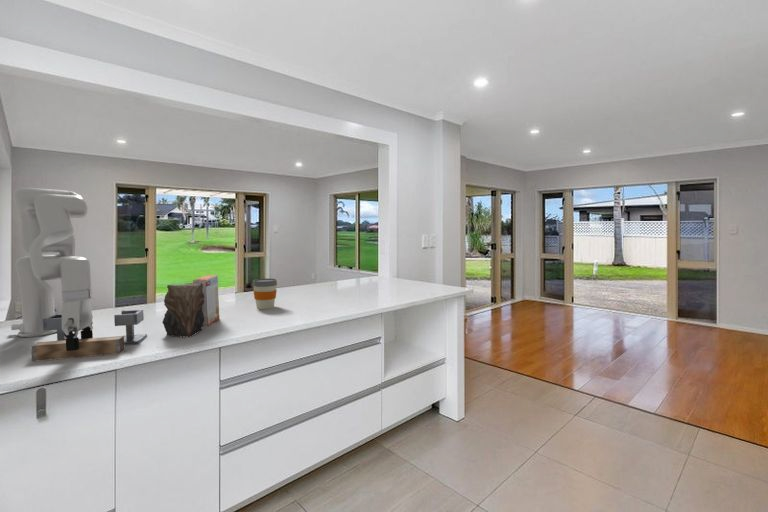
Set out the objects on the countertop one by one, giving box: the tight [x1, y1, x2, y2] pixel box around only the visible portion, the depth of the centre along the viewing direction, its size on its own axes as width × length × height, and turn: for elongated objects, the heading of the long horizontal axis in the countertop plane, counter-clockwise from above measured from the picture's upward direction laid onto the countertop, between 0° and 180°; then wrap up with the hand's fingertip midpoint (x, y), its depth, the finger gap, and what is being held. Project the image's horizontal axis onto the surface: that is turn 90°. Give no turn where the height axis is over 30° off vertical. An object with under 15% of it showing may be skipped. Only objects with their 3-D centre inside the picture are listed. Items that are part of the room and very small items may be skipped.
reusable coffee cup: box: [252, 278, 278, 310], centre depth 197 cm, size 13×13×15 cm
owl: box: [162, 282, 204, 338], centre depth 149 cm, size 13×13×20 cm
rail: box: [30, 335, 125, 362], centre depth 121 cm, size 24×4×5 cm, turn 108°
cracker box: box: [192, 274, 220, 327], centre depth 164 cm, size 14×6×21 cm, turn 5°
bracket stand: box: [43, 309, 148, 346], centre depth 134 cm, size 29×10×11 cm, turn 108°
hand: (80, 345), depth 121 cm, fingers open, 9 cm apart
